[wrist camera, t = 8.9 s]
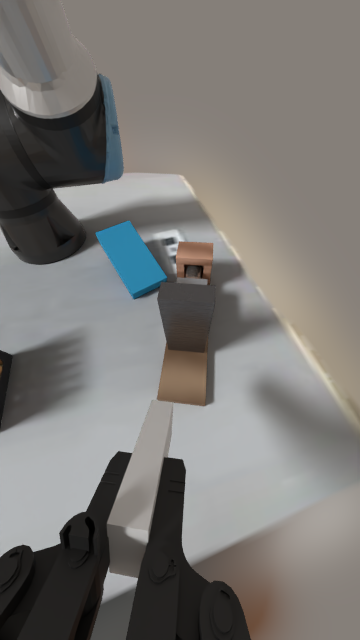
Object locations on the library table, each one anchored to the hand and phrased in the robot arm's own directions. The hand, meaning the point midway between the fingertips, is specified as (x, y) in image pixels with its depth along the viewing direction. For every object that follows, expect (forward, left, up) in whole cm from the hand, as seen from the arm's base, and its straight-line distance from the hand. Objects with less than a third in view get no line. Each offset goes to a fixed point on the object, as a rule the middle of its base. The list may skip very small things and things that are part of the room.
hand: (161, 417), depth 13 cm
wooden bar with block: (-13, +6, -11) cm, 18 cm away
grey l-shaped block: (-15, +6, -9) cm, 19 cm away
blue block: (-30, -2, -12) cm, 32 cm away
